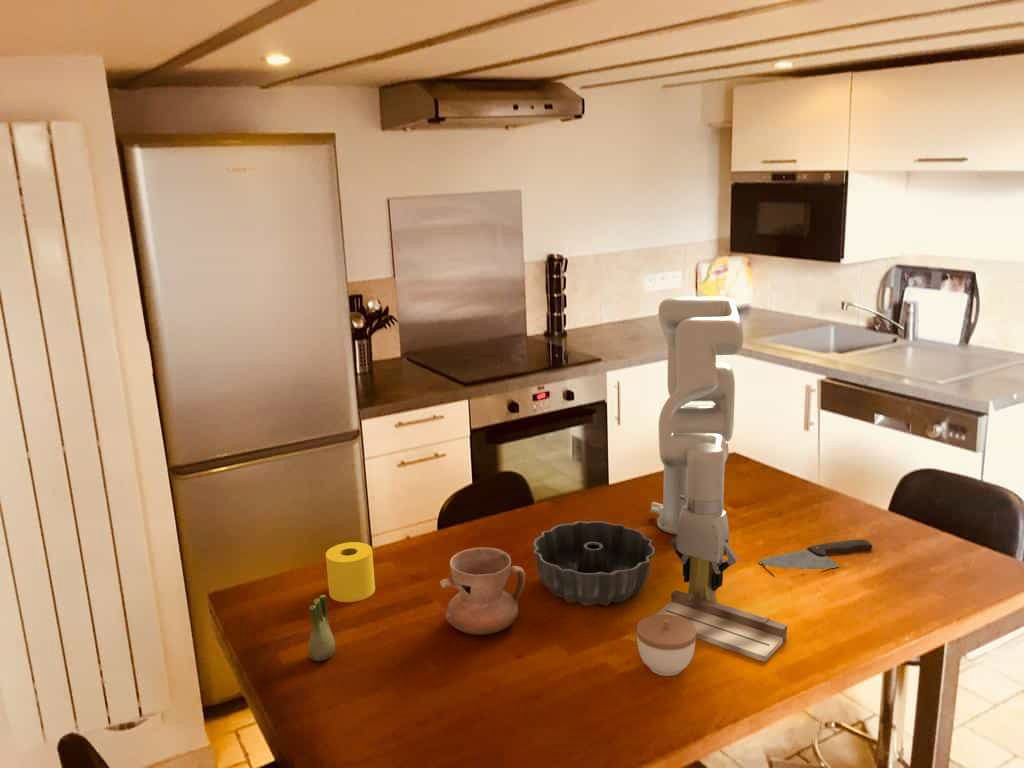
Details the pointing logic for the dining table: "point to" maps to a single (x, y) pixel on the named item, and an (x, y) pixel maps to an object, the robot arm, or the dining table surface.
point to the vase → (701, 579)
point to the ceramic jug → (482, 591)
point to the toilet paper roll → (350, 572)
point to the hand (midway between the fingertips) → (702, 583)
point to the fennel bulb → (320, 632)
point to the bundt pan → (593, 561)
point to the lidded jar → (666, 643)
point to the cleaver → (816, 555)
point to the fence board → (728, 626)
